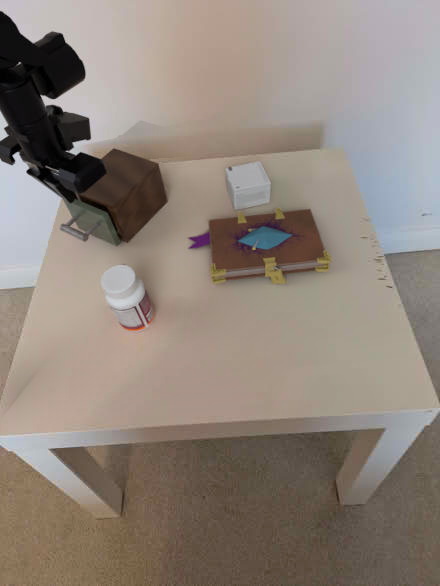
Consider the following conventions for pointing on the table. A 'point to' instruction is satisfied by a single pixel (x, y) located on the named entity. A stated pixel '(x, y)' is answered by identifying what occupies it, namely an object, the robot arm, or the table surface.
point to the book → (264, 246)
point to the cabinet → (129, 191)
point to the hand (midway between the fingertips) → (71, 201)
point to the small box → (248, 185)
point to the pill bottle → (127, 298)
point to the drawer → (91, 221)
